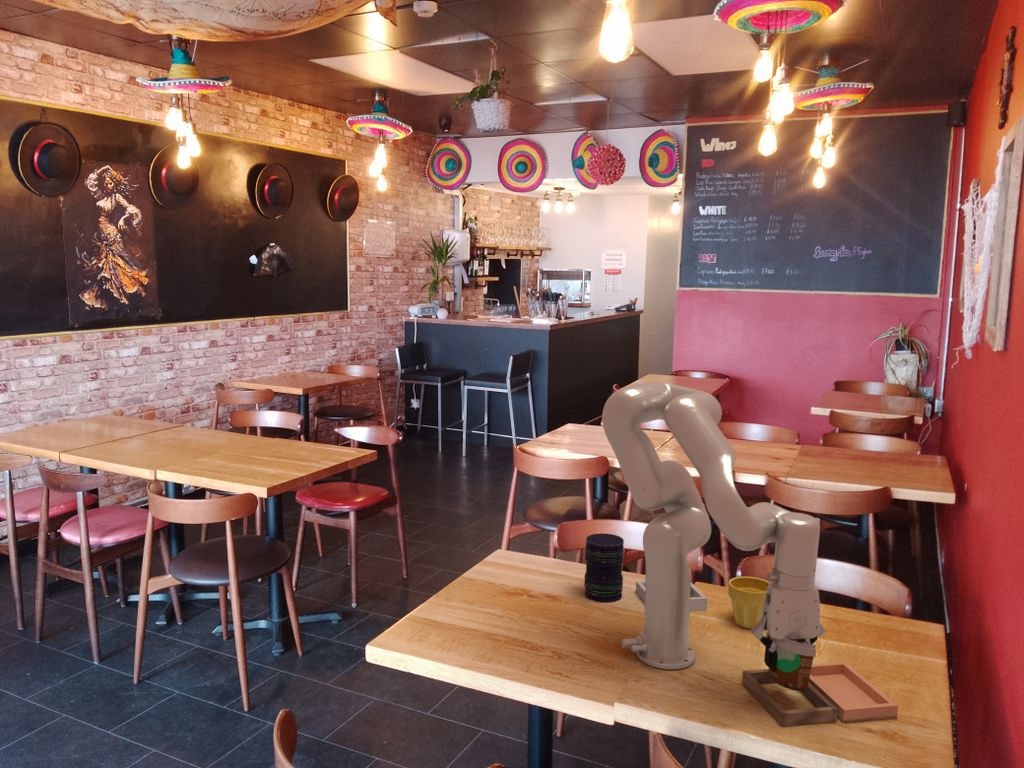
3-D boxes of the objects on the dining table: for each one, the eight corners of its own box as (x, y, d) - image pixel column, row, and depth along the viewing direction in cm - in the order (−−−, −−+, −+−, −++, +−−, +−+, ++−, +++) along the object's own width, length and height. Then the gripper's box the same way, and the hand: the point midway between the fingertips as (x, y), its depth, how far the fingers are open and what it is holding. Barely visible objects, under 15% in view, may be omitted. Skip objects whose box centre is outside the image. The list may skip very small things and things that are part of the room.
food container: (752, 662, 157) (757, 615, 155) (781, 662, 157) (787, 616, 156) (778, 696, 145) (785, 645, 143) (810, 696, 145) (817, 646, 144)
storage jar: (624, 589, 205) (626, 535, 203) (620, 604, 195) (622, 547, 193) (586, 586, 207) (588, 532, 205) (581, 600, 198) (582, 544, 196)
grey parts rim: (653, 613, 191) (653, 601, 190) (635, 592, 203) (636, 581, 203) (706, 609, 193) (707, 598, 193) (686, 589, 206) (687, 578, 205)
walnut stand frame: (781, 726, 142) (782, 714, 142) (742, 682, 158) (742, 670, 158) (836, 721, 144) (837, 709, 144) (792, 678, 160) (792, 667, 160)
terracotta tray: (843, 722, 144) (844, 710, 144) (795, 676, 160) (796, 665, 160) (897, 717, 146) (898, 705, 145) (844, 673, 162) (844, 661, 162)
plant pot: (731, 610, 193) (732, 572, 191) (774, 618, 188) (776, 580, 187) (722, 627, 183) (724, 587, 182) (768, 636, 179) (770, 595, 178)
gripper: (761, 588, 143) (752, 679, 146) (845, 585, 146) (836, 674, 149) (742, 572, 150) (734, 659, 153) (823, 569, 153) (814, 655, 156)
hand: (784, 666), depth 151 cm, fingers closed on food container, 5 cm apart
